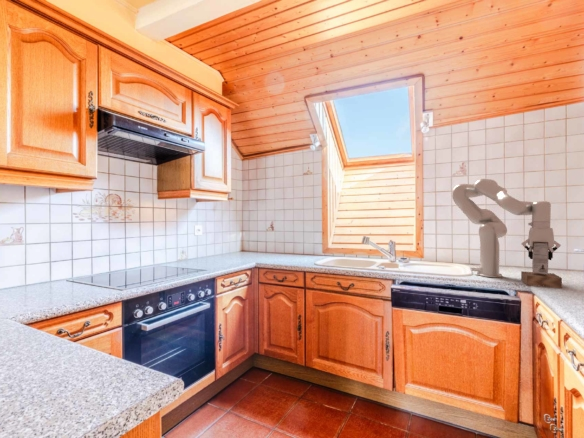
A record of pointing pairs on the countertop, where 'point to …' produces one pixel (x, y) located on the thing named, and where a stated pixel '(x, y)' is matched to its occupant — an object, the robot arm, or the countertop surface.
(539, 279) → the block
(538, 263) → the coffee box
